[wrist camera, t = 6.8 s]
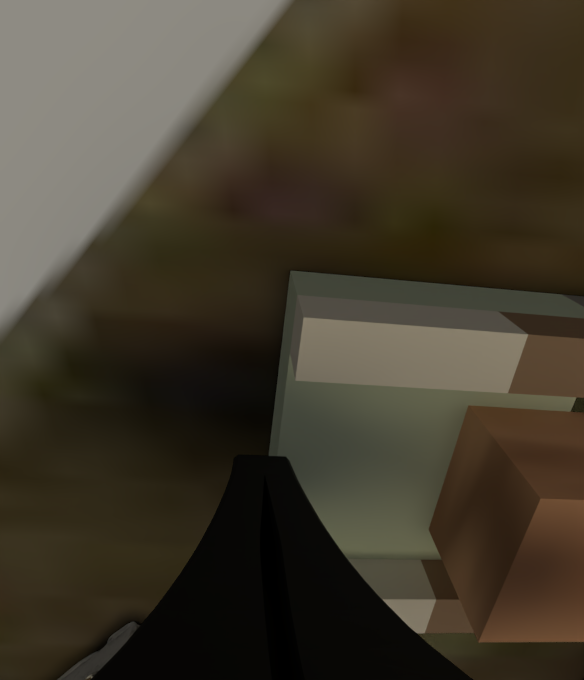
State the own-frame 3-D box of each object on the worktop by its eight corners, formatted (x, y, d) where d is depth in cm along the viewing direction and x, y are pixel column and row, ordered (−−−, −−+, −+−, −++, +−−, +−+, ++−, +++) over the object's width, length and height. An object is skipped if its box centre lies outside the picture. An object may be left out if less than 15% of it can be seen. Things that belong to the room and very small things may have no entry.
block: (548, 533, 15) (627, 641, 12) (428, 529, 15) (478, 642, 12) (602, 413, 13) (713, 505, 10) (468, 404, 13) (540, 498, 10)
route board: (590, 546, 19) (659, 631, 16) (258, 541, 17) (260, 634, 14) (712, 307, 15) (837, 357, 11) (290, 270, 13) (303, 317, 10)
